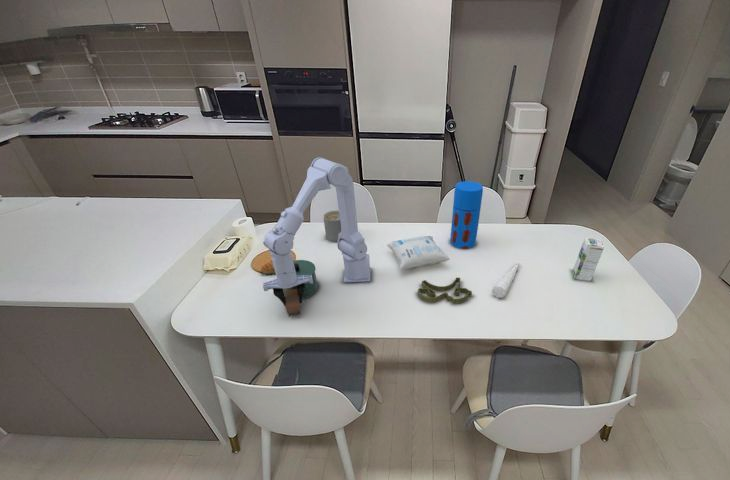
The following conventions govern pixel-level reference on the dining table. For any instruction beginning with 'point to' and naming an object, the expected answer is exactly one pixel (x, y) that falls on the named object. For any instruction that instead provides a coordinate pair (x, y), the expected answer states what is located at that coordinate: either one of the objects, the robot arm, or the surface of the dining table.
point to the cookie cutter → (431, 293)
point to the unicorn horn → (504, 283)
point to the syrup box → (588, 259)
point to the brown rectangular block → (292, 302)
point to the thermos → (466, 214)
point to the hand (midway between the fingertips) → (293, 303)
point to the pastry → (268, 268)
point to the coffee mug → (332, 225)
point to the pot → (307, 287)
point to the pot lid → (304, 267)
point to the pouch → (417, 252)
